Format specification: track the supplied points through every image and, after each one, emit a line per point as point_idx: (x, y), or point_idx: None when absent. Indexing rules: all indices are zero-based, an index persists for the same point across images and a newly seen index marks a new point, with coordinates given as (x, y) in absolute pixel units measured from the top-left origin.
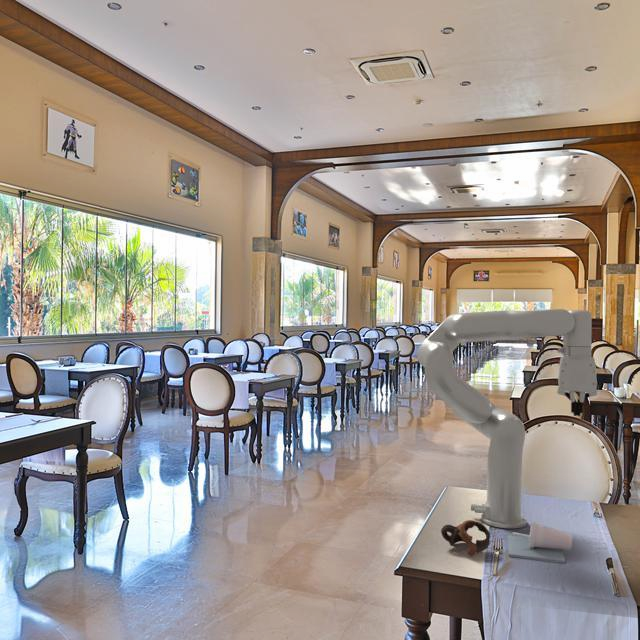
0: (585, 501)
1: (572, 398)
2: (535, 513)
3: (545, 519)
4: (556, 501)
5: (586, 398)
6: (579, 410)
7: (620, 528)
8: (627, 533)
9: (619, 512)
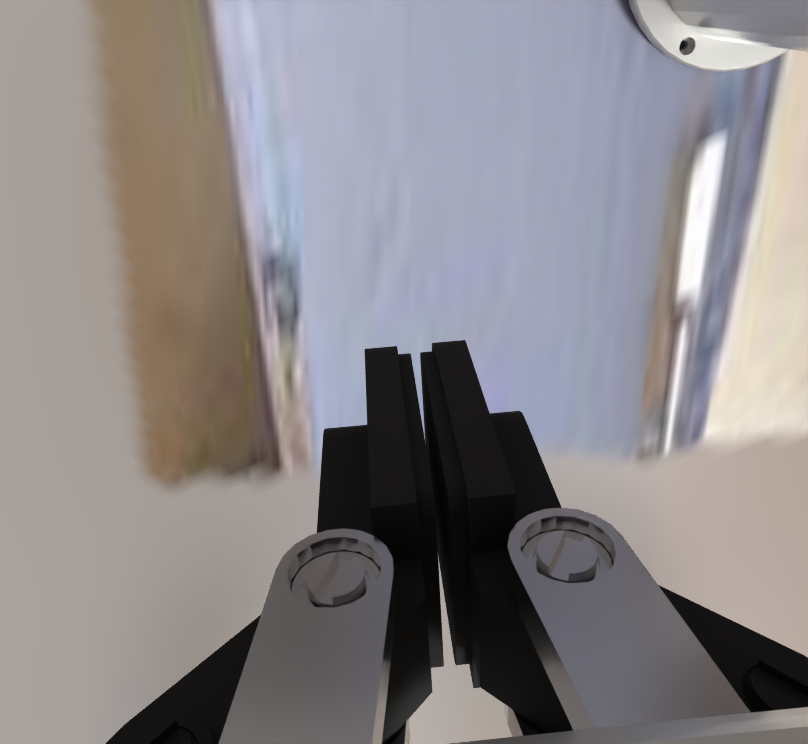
0: None
1: (594, 578)
2: (557, 183)
3: (516, 100)
4: None
5: (205, 670)
6: (382, 394)
7: (166, 118)
8: (126, 43)
9: (193, 372)
